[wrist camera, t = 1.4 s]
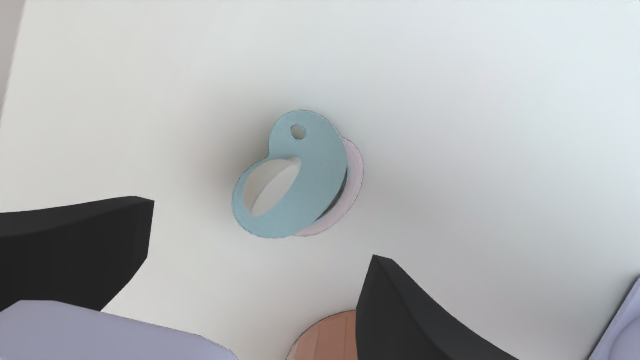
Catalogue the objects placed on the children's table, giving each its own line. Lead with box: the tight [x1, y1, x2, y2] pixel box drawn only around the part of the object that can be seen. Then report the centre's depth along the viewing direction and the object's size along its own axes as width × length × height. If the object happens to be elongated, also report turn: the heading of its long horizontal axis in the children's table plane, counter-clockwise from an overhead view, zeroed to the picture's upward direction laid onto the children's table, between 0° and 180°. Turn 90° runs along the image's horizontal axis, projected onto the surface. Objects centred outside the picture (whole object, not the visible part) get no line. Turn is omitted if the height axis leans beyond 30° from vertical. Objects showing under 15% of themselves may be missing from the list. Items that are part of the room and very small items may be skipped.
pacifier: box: [232, 110, 364, 238], centre depth 19 cm, size 7×6×6 cm
